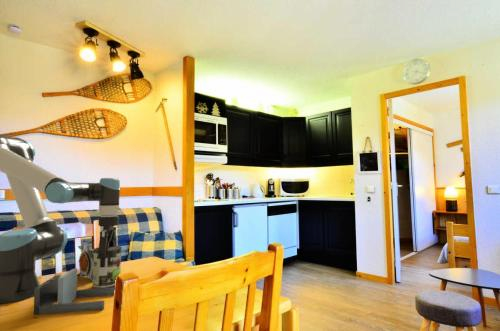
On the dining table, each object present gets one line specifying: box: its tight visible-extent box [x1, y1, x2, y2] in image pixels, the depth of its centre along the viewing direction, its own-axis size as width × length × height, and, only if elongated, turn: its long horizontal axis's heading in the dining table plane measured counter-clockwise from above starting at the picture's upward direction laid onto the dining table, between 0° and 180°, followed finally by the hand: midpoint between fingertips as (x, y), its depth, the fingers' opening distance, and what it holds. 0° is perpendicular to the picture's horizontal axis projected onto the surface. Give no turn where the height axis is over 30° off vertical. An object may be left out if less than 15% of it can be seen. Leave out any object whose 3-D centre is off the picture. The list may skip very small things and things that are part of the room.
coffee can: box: [92, 245, 123, 289], centre depth 119 cm, size 10×10×14 cm
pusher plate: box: [57, 268, 78, 304], centre depth 99 cm, size 2×11×10 cm, turn 10°
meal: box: [77, 245, 94, 283], centre depth 128 cm, size 15×4×13 cm, turn 52°
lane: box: [33, 274, 116, 316], centre depth 100 cm, size 20×14×8 cm
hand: (107, 271), depth 119 cm, fingers closed on coffee can, 10 cm apart
